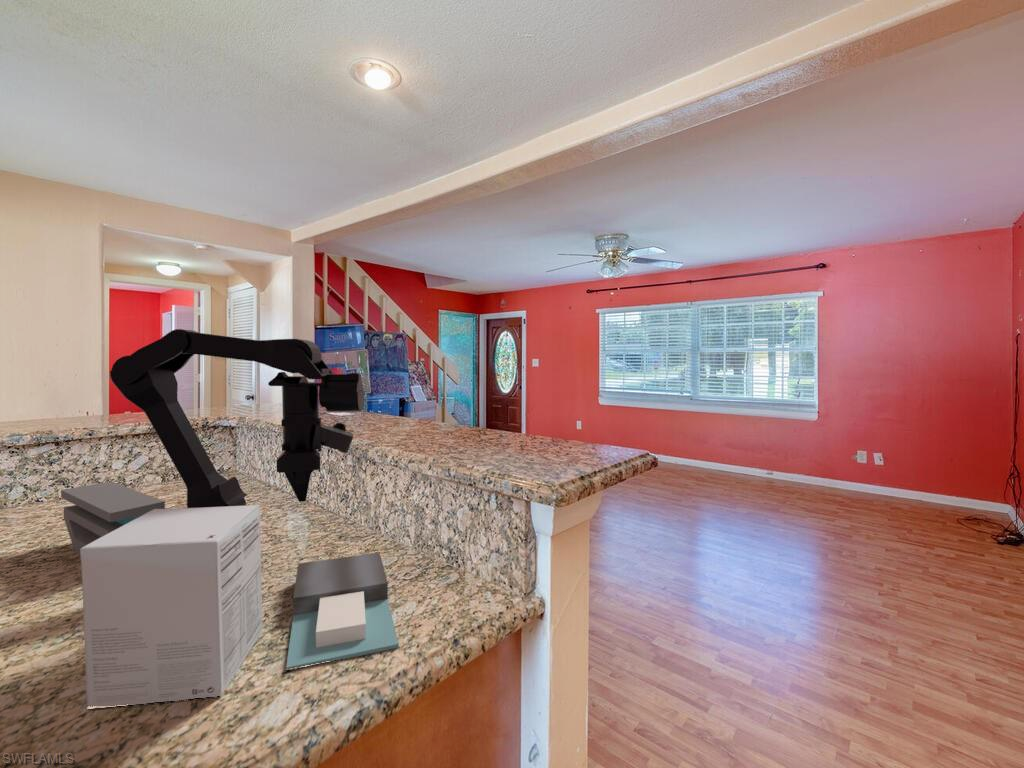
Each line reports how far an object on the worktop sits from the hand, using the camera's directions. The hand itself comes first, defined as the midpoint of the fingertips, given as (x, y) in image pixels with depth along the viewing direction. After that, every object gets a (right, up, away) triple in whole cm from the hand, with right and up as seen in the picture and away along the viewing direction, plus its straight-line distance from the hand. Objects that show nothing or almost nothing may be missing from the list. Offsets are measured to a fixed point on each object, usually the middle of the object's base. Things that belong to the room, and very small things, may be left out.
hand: (302, 501), depth 82 cm
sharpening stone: (-39, -12, +7) cm, 41 cm away
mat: (+14, -13, -19) cm, 27 cm away
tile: (+13, -12, -18) cm, 25 cm away
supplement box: (-2, -14, -26) cm, 29 cm away
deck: (+10, -13, -7) cm, 17 cm away
